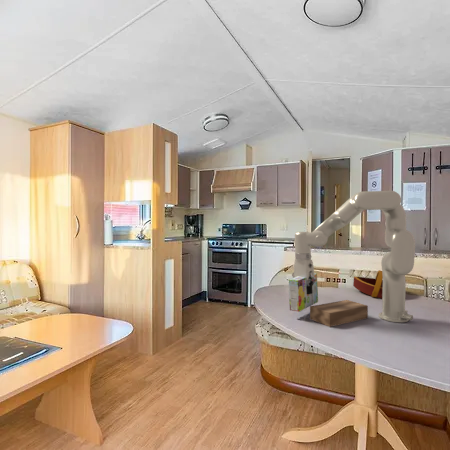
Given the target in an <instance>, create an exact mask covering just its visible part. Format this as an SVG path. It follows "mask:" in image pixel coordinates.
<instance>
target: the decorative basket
mask: <svg viewBox="0 0 450 450" xmlns="http://www.w3.org/2000/svg"><path fill="white" fill-rule="evenodd" d="M352 285H353V287H354V288H355V289H356V290H357V291H359V292H362V293H364V294H366V295H368V296H371V297H372V298H378V299H382V295H383V274H382V270H381V269H379V270H378V271H377V272H376V276H375V278H373V277H364V276H355V275H354V276H353V284H352Z"/></svg>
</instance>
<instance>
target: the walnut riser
mask: <svg viewBox="0 0 450 450" xmlns="http://www.w3.org/2000/svg"><path fill="white" fill-rule="evenodd" d="M368 314H369V306H368V305H367V304H363V303H360V302H356V301H353V300H348V299H344V300H339V301H333V302H327V303H322V304H321V303H320V304H317V305H316V304H314V305H311V306H309V320H312V321H314V322H317V323H319V324H322V325H325V326H326V327H329V328H331V327H335V326H340V325H344V324H349V323H354V322H357V321H362V320H366V319H368V318H369V317H368V316H369V315H368Z"/></svg>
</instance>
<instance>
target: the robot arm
mask: <svg viewBox="0 0 450 450" xmlns="http://www.w3.org/2000/svg"><path fill="white" fill-rule="evenodd" d="M401 203H402V197H401V195H400V194H399V193H398V192H397V191H395V190H374V191H372V190H371V191H368V190H367V191H365V190H364V191H359V192H355V193H354V194H352V195H351V196H350V197H349V198H348V199H347V200H346V201H345V202H344V203H343V204H342V205H340V206H339V207H338V208H337V209H336V210H335V211H334V212H333V213H332V214H330V215H329V217H328V218H327V217H326V219H325V220H324V221H323V222H322V223H320V224H319V225H318V226H317V227H316V228H315V229H314V230H312V231H310V232H309V231H296V232H295V233H294V254H295V257H294V258H295V259H294V264H293V272H292V274H291V276H292V278H294V277H297V276H300V277H304V278H305V280H306V283H307V285H308V286H307V294H312V286H313V284H314V283H315V281H316V278H315V276H314V273H315V266H314V262H313V259H312V253H311V252H312V249H311V247H324V246H326V244H327V243H328V240H329V237H330V236H332V235H334V233H335V232H337V231H339V230H341V229H342V228H344V227H346V226H349V224H350V223H351V222H352V221H354V219H355V218H356V217H358V216H359V215H360V214H361V213H362V212H363V211H377V210H378V211H379V210H380V211H382V213H383V214H384V217H385V229H384V230H385V234H384V243H385V244H386V246H387V247H388V248H390V251H388V252H386V253H385V254H384V255H383V257H382V258H381V271H382V274H383V279H382V280H383V295H382V298H381V299H382V306H381V307H382V308H381V309H382V311H381V312H379V313H378V317H379V319H381V320H383V321H386V322H390V323H391V322H392V323H407V322H410V321H413V319H414V315H413V314H409V313H408V310H407V309H406V285H407V283H406V282H407V281H406V275H408V274H410V273H411V272H412V271H413V270H414V265H415V257H416V256H415V254H416V253H415V250H416V241H415V236H414V235H413V233H412V232H411V231H409V230H407V215H406V210H405V208H404V207H403V206H402V204H401ZM309 281H310V283H309Z"/></svg>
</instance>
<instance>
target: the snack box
mask: <svg viewBox="0 0 450 450" xmlns="http://www.w3.org/2000/svg"><path fill="white" fill-rule="evenodd" d="M314 276H315V278H316V281H315V283H314V284H313V286H312V294H307V286H308V285H307V283H306V280H305V278H304V277H300V276H297V277H294V278H293V277H292V278H289V279H288V296H289V298H288V299H289V311H293V312H298V313H299V312H301V311H303V310H305V309H307V308H310V306H314V305H316V304H317V303H319V292H318V289H319V288H318V273H316V272H314ZM309 283H310V281H309Z"/></svg>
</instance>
